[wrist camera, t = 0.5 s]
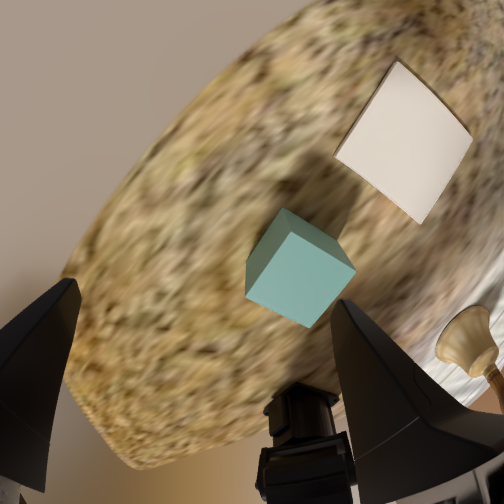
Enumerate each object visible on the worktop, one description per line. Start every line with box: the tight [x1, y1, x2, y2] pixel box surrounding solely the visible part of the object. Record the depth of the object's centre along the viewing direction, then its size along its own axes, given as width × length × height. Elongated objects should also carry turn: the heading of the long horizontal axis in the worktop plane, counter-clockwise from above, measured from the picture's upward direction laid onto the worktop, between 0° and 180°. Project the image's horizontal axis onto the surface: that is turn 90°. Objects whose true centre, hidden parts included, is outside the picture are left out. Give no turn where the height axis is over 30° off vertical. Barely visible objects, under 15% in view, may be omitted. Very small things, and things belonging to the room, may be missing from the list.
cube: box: [245, 207, 357, 328], centre depth 20 cm, size 5×5×5 cm
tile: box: [333, 61, 473, 225], centre depth 18 cm, size 9×9×1 cm
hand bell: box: [436, 305, 504, 415], centre depth 19 cm, size 8×8×16 cm
